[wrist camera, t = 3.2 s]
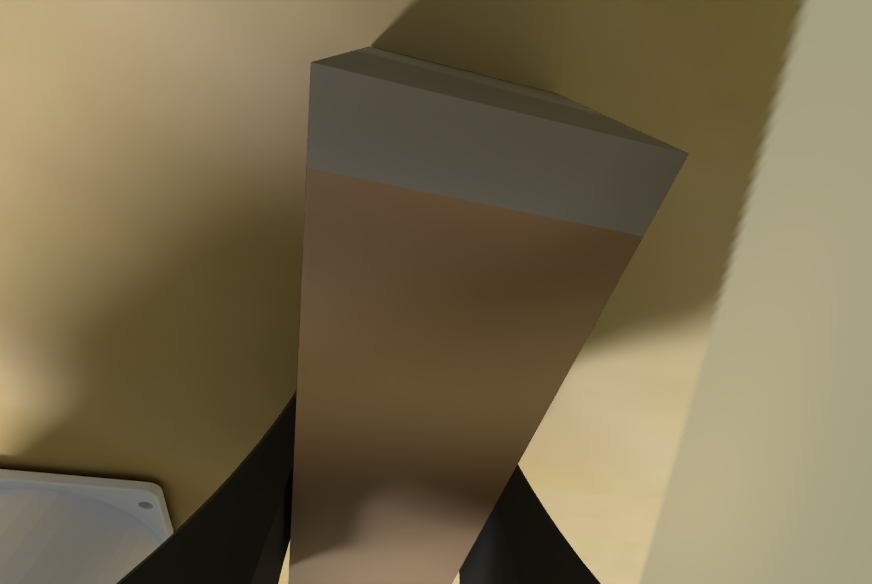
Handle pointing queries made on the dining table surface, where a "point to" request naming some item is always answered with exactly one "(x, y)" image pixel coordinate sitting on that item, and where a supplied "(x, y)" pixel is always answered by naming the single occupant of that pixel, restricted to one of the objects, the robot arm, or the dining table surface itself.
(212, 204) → the dining table surface
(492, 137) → the brown wooden block
